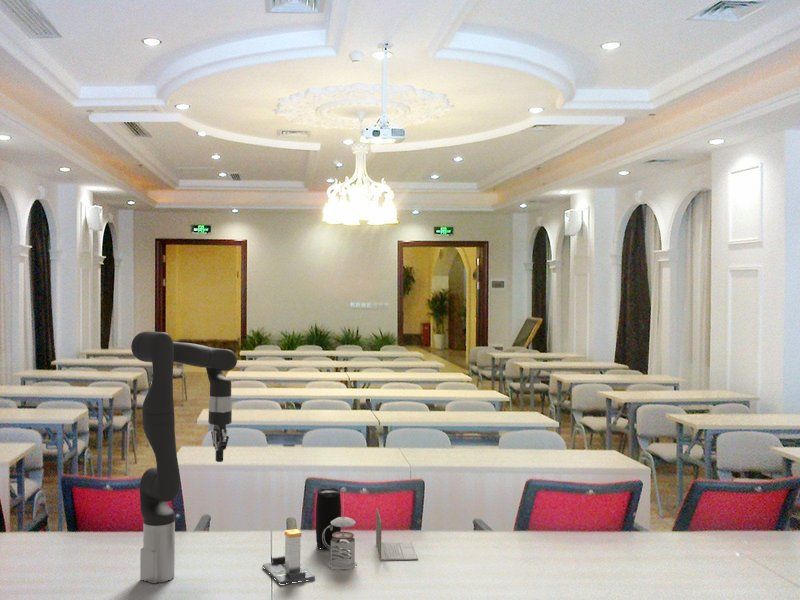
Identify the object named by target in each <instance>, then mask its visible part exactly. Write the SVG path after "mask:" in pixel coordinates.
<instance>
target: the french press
mask: <svg viewBox="0 0 800 600" xmlns="http://www.w3.org/2000/svg"><path fill="white" fill-rule="evenodd" d="M341 492H342V516H341V517H338V518H336V519H334V520H332V521H331V524H332V525H333V526H336V527H341V528H349V527H353V526H355V525H356V522H357V521H355V520H354V519H353V518H351V517H348V516H344V511H345V510H344V508H345V507H344V505H345V503H344V501H345V499H344V498H345V492H347V488H346V487H341V488H340V493H341ZM332 525H330V526H332ZM330 526H328V527H327V528H329V527H330ZM333 526H332V529H333ZM327 528H326V529H327ZM326 529H325V530H324V531H323V533H325V531H326ZM332 529H331V527H330V530H332ZM354 536H355V534H354V533H353V532H350V531H344V530H341V532H335V533H333V534H332V537H333V538H332V541H331V548H329V547H330V546H329V545H328V544H327V543H326V541H325V538H324V541H325V543H326V544H327V546H329V547H326V548H327V549H328V550H329V556H330V557H329V562H328V563H327V565H328V566H329V567H331V568H333V569H332V570H335V569H349V570H352V569H351V568H353V569H355V568H356V567H355V566H357V564H358V563H357V561H356V559H355V558H356V557H355V556H356V555H355V554H356V550H355V549H356V547H355V546H356V539H355V538H354ZM338 540H340V542H338V543H337V541H338ZM344 540H346V541H344ZM322 541H323V534H322ZM323 544H324V542H323ZM324 545H325V544H324ZM325 546H326V545H325ZM337 546H338V547H337ZM328 566H327V567H328ZM329 567H328V568H329ZM354 567H355V568H354ZM357 567H358V566H357ZM331 568H330V569H331Z"/></svg>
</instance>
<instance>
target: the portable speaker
mask: <svg viewBox="0 0 800 600" xmlns="http://www.w3.org/2000/svg"><path fill="white" fill-rule="evenodd" d="M316 493H317V494H316V504H315V538H316V539H315V540H316V548H317V547H318V548H317V549H319V548H321V549H320V550H323V549H324V548H327V547H328V548H330V549H331V541H332V538H333V537H332V534H333V533H335V532H341V531H342V527H336V526H333V525H332V524H331V521H332V520H334V519H336V518H338V517H342V501H341V500H342V499H341V488H338V487H331V488H323V487H321V488H318V489H317V492H316ZM330 525H332V526H333V529H332V526H330ZM328 526H330V527H331V529H332V530H330V527H329V528H327V527H328ZM326 528H327V529H326ZM325 529H326V531H325V533H323V531H324V530H325ZM322 534H323V541H322ZM324 538H325V541H326V543H327V544H328V545H329V546H330V547H329V546H327V544H326V543H325V541H324ZM340 541H341V540H338V541H337V543H338V542H340ZM323 542H324V544H325V545H326V546H325V545H324V544H323ZM337 547H338V546H337Z"/></svg>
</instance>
